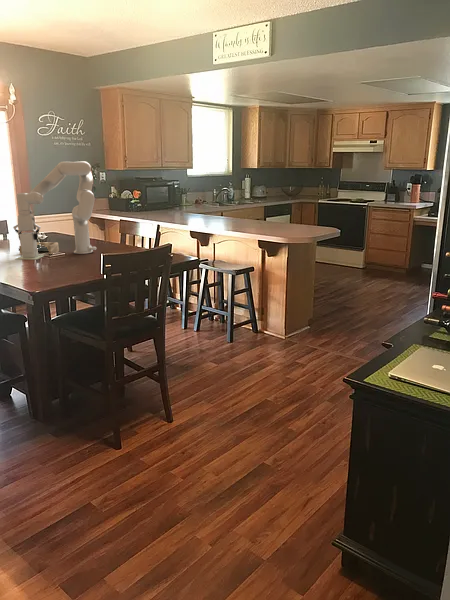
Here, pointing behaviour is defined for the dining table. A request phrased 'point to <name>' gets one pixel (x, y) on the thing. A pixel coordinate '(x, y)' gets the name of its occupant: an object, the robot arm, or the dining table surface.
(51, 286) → the dining table surface
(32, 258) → the mat
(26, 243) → the skincare box
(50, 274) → the dining table surface
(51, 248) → the open wooden frame
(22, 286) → the dining table surface
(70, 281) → the dining table surface
